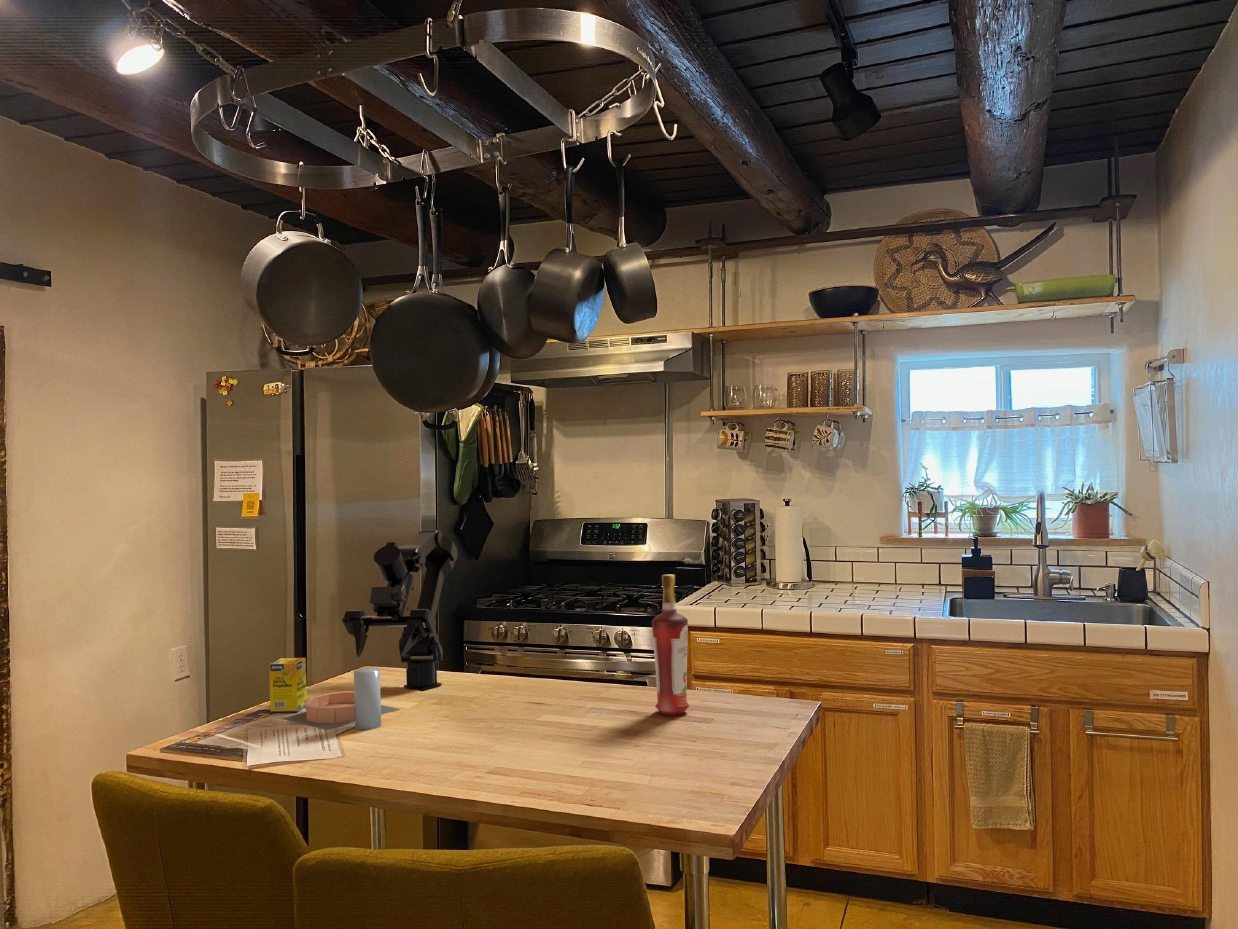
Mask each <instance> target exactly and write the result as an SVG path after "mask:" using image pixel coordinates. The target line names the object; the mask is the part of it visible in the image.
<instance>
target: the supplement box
mask: <svg viewBox="0 0 1238 929" xmlns="http://www.w3.org/2000/svg"><path fill="white" fill-rule="evenodd" d="M268 665H269V666H268V668H269V670H268V672H269V706H270V707H269V709H270V710H269V711H270V714H271V715H272V714H299V712H301V710H303V709H306V708H305V701H307V700H308V698H307V697H308V693H307V690H308V689H307V660H306V657H293V658H291V657H290V658H289V657H286V658H285V657H284V658H282V657H281V658H279V659H278V660H276V661H274V662H271V663H269V664H268Z"/></svg>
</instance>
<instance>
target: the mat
mask: <svg viewBox="0 0 1238 929" xmlns="http://www.w3.org/2000/svg"><path fill="white" fill-rule="evenodd" d="M399 710H401V709H400V708H398V707H397V708H396V707H392V706H388V705H383V704H381V716H382V715H385V714H389V713H392V712H397V711H399ZM280 719H283V720H287V721H288V722H289V721H290V722H295V723H297V724H302V725H306V726H310V727H312V728H313V727H314V728H317V729H322V730H325V731H330V730H333V729H335V728H339V727H342V726H346V725H350V724H355V720H354V721H347V722H339V723H316V722H312V721H308V720H307V719H306V711H304V712H300V713H299V712H298V713H294V714H292V715H288V716H284V717H281V718H280Z"/></svg>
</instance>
